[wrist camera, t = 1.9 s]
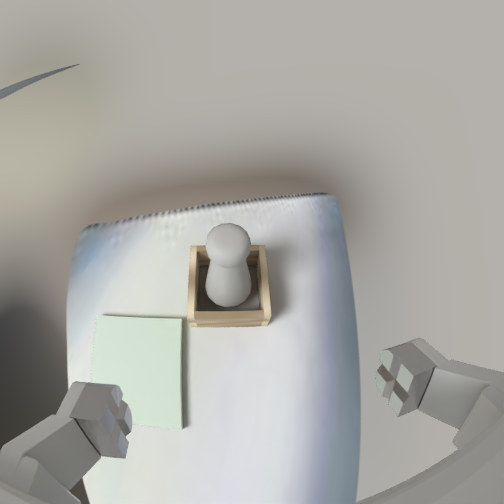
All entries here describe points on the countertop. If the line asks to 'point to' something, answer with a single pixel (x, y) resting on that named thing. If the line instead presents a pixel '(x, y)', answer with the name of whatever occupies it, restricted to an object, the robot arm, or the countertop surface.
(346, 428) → the countertop surface
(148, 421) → the sage mat
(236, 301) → the salt shaker
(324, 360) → the countertop surface
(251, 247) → the wooden box
